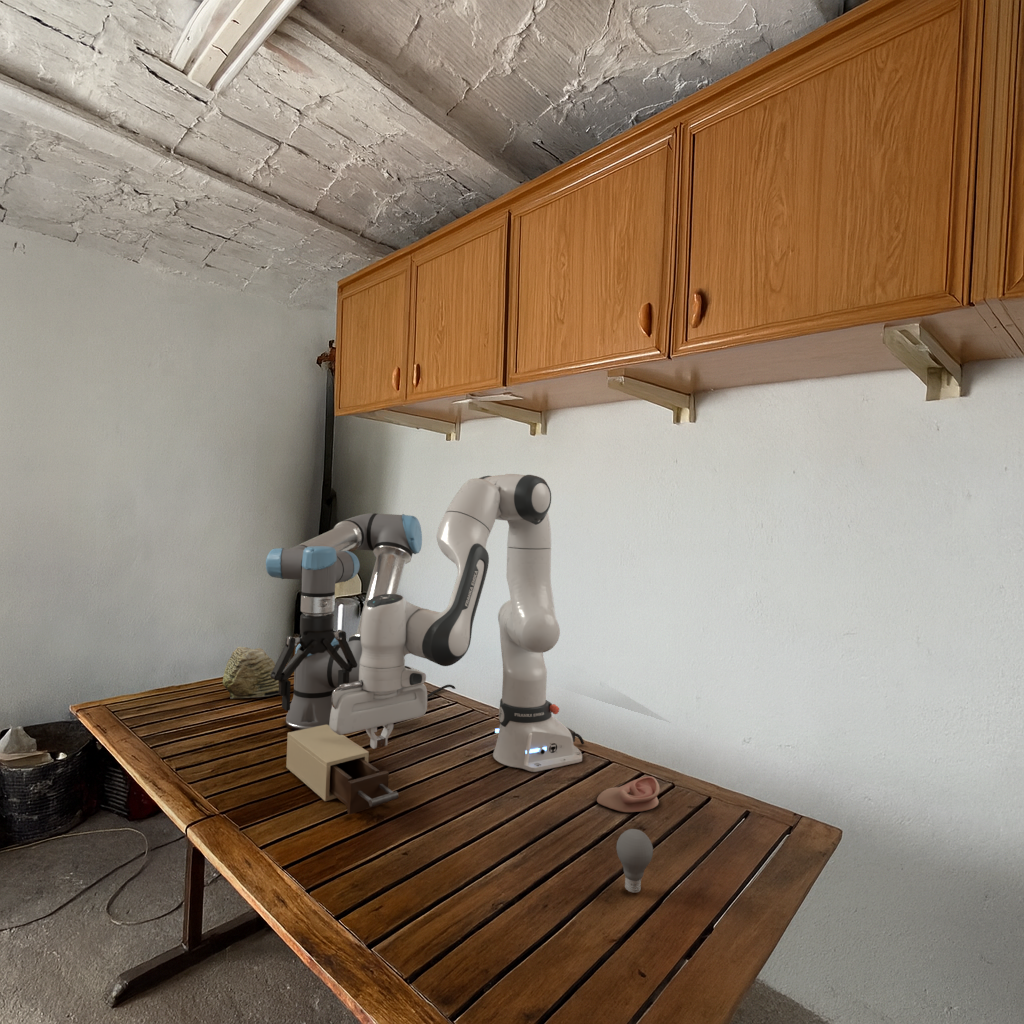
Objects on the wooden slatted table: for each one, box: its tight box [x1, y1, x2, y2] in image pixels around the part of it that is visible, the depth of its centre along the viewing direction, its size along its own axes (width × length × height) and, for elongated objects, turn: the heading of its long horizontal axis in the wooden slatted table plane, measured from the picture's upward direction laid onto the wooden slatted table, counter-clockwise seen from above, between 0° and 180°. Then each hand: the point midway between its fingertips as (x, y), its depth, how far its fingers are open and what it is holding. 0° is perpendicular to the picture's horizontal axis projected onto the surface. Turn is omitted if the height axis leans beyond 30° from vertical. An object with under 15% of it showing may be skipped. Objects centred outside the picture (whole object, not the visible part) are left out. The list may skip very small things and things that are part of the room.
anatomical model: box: [596, 775, 661, 813], centre depth 138 cm, size 13×4×12 cm
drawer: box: [329, 758, 399, 815], centre depth 133 cm, size 26×9×6 cm, turn 42°
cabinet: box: [285, 724, 370, 802], centre depth 143 cm, size 21×10×8 cm, turn 42°
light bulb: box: [615, 828, 654, 894], centre depth 106 cm, size 6×6×10 cm
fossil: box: [222, 646, 279, 699], centre depth 198 cm, size 9×18×15 cm, turn 132°
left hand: (314, 703), depth 148 cm, fingers open, 13 cm apart
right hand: (378, 746), depth 126 cm, fingers closed
